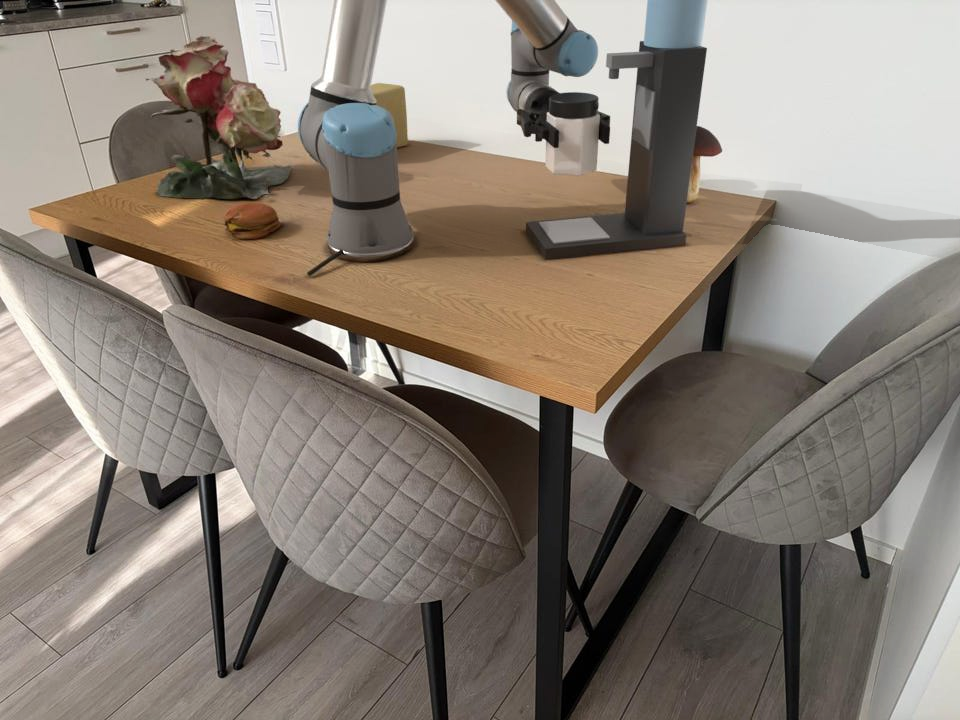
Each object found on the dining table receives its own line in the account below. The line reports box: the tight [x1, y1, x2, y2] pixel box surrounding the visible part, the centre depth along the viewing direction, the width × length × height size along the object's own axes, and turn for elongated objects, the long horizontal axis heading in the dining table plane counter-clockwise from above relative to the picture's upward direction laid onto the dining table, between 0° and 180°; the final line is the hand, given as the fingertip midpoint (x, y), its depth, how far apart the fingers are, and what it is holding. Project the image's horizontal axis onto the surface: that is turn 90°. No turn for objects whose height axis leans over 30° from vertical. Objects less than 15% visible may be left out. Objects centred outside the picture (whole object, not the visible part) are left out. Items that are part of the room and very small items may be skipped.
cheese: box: [370, 82, 409, 149], centre depth 178 cm, size 22×10×15 cm, turn 146°
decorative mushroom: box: [687, 125, 723, 203], centre depth 143 cm, size 11×11×15 cm
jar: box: [545, 91, 600, 177], centre depth 124 cm, size 9×8×12 cm
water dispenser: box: [525, 0, 708, 260], centre depth 120 cm, size 26×13×45 cm, turn 102°
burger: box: [222, 201, 281, 240], centre depth 137 cm, size 10×9×5 cm
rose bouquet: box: [145, 35, 292, 200], centre depth 157 cm, size 26×29×30 cm
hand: (582, 137), depth 119 cm, fingers closed on jar, 8 cm apart
